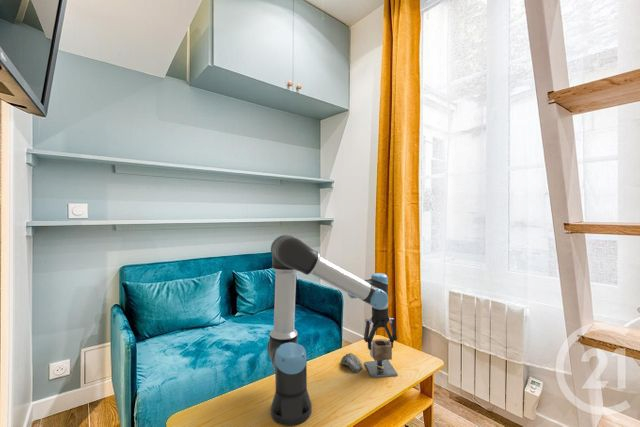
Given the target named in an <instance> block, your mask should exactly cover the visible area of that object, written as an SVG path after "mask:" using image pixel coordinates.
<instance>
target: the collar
mask: <svg viewBox="0 0 640 427" xmlns="http://www.w3.org/2000/svg"><path fill="white" fill-rule="evenodd" d="M372 343H373V357H372V359H373V361H380V360H389V361H390V360H393V350H392V349H393V348H392V346H391V345H390V344H389V342H388V339H386V338H379V339H378V338H377V339H373V340H372ZM377 345H380V346H377Z"/></svg>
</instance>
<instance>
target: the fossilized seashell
mask: <svg viewBox="0 0 640 427" xmlns="http://www.w3.org/2000/svg"><path fill="white" fill-rule="evenodd" d="M340 364H342V365H344V366H348V367H349V369H350V370H351V372H352V373H356V374H358V373H359V372H360V371H361V370H362V369H363V367H364V366H363V363H362V362H361V360H360V359H359V358H358V357H357V356H356V355H355V354H354V353H352V352H351V353H346V354H345V355H344V356H342V358H341V359H340Z"/></svg>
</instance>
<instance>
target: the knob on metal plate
mask: <svg viewBox="0 0 640 427" xmlns="http://www.w3.org/2000/svg"><path fill="white" fill-rule="evenodd" d="M377 346H380V345H377ZM364 366H365V368H366V370H367V371H368V373H369V375H370V378H371V379H374V378H385V377H386V378H387V377H397V376H398V372H397V370H396V369H395V368H394V367H393V365H392V363H391V362H390V360H380V361H375V360H372V361H371V360H370V361H368V360H367V361H364Z"/></svg>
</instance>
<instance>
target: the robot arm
mask: <svg viewBox="0 0 640 427" xmlns="http://www.w3.org/2000/svg"><path fill="white" fill-rule="evenodd" d="M270 253H271V257H272V258H271V261H272V263H271V268H272V270H273V271H274V272H275V279H274V280H275V283H274V305H273V307H274V311H273V329H271V330H270V332H269V338H268V341H267V343H266V344H267V345H266V346H267V348H266V351H267V355H268V357H269V359H270V361H271V364H272V367H273V370H274V374H275V375H274V376H275V380H274V381H275V384H274V385H275V392H274V396H273V399H272V402H271V406H270V415H271V418H272V420H273V421H274V422H276V423H277V424H279V425H282V426H290V427H291V426H297V425H299V424H301V423H305V421H307V420H308V419H309V417H310V416H311V415H312V412H313V410H312V408H313V407H312V406H313V405H312V401H311V397H310V396H309V395H310V394H309V392H308V388H307V386H308V384H307V383H308V382H307V381H308V380H307V378H308V376H307V375H308V373H307V372H308V370H307V369H308V368H307V364H308V363H307V362H308V356H307V351H306V349H305V347H304V346H303V345H301V344H299V343H298V335H299V334H298V331H297V330H296V329H295V319H296V318H295V314H296V294H297V293H296V290H297V289H296V288H297V286H296V285H297V272H300V273H303V274H304V275H306V276H308V275H312V276H314V277H316V278H318V279H320V280H322V281H324V282H326V283H327V284H330V285H331V286H334V287H335V288H338V289H339V290H341V291H343V292H345V293H347V295H348V297H349V298H350V299H358V300H361V301H363V302H364V303H366V304H368V305H370V306H371V317H370V319H367V318H366V319H365V329H364V333H363V334H364V335H363V340H364V343H367V349H368V350H369V355H370V357H371V358H373V343H372V340H374V337H375V335H376V332H377V330H378V329H380V328H383V329H384V330H385V332H386V335H387V337H388V339H387V341H388V342H389V344H390V345H391V346H392V349H394V342H395V341H397V340H398V337H397V336H398V335H397V331H396V325H395V324H396V319H395V318H393V317H389V308H388V307H389V280H388V278H389V277H388V275H387V274H385V273H382V272H380V273H379V272H375V273H372V274H371V278H370V279H362V278H361V277H358V276H357V275H355V274H353V273H351V272H349V271H348V270H346V269H344V268H342V267H340V266H339V265H336V264H335V263H333V262H331V261H329V260H327V259H326V258H324V257H322V256H320V252H318V251H316V250H315V249H313V248H312V247H310V246H309V245H307V244H306V242H303V240H301V239H300V238H297V237H294V236H292V235H287V234H282V235H279V236H277V237H276V238H275V239H273V241H272V243H271V246H270ZM371 323H372V324H371ZM387 324H390V329H391V332H390V329H389V327H388V325H387ZM370 325H372V327H371V326H370ZM370 327H371V328H370ZM370 329H371V330H370Z"/></svg>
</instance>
